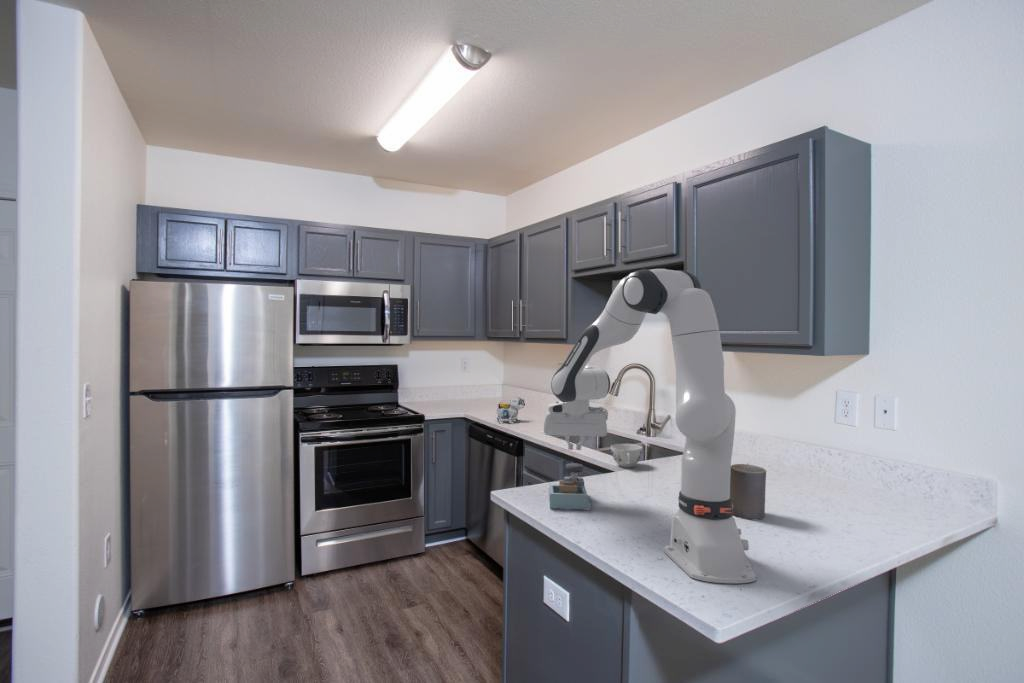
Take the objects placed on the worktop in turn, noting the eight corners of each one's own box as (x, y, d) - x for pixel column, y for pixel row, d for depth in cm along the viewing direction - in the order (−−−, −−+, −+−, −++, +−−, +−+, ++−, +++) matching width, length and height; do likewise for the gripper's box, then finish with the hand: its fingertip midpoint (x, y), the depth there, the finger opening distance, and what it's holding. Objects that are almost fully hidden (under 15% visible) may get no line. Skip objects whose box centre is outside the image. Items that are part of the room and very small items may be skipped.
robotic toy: (522, 425, 301) (523, 398, 301) (493, 423, 304) (493, 397, 304) (526, 421, 314) (526, 396, 314) (497, 420, 317) (498, 395, 317)
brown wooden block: (576, 502, 158) (577, 483, 158) (560, 502, 158) (560, 483, 158) (575, 496, 164) (575, 478, 164) (559, 496, 164) (559, 477, 164)
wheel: (583, 484, 166) (583, 467, 166) (565, 483, 166) (566, 467, 166) (582, 479, 172) (582, 463, 172) (564, 479, 172) (565, 462, 172)
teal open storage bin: (590, 510, 156) (590, 491, 156) (549, 508, 156) (550, 490, 156) (585, 493, 172) (585, 477, 172) (548, 492, 172) (548, 476, 172)
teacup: (609, 461, 217) (609, 442, 217) (640, 462, 216) (640, 443, 215) (611, 470, 202) (612, 450, 202) (645, 472, 201) (645, 451, 200)
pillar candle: (721, 510, 158) (723, 460, 157) (746, 507, 161) (748, 458, 161) (746, 522, 149) (748, 469, 148) (772, 518, 152) (774, 466, 152)
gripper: (606, 405, 171) (605, 448, 171) (543, 404, 172) (543, 446, 172) (609, 408, 165) (608, 452, 165) (544, 407, 166) (543, 450, 166)
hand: (574, 449), depth 169 cm, fingers closed
